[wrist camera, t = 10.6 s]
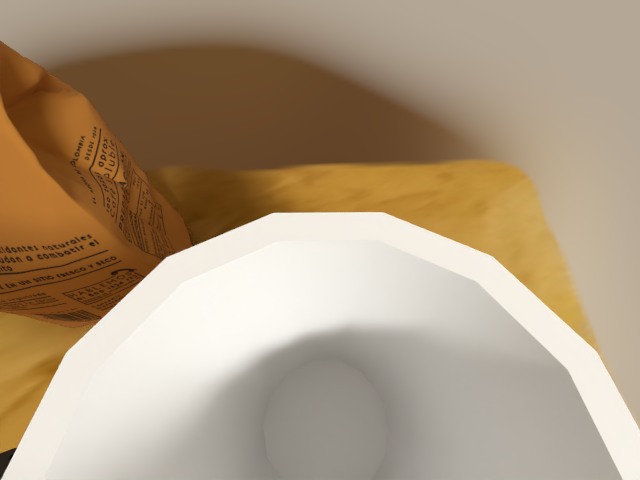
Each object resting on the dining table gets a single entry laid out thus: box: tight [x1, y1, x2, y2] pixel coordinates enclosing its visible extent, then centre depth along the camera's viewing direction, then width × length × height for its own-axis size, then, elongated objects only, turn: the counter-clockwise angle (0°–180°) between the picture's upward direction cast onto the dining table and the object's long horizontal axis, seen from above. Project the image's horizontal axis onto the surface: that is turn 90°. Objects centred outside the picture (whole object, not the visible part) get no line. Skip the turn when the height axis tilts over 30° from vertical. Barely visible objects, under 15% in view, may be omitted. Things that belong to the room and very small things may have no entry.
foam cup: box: [1, 212, 640, 480], centre depth 10 cm, size 10×9×13 cm
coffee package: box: [0, 41, 193, 327], centre depth 19 cm, size 10×12×22 cm
